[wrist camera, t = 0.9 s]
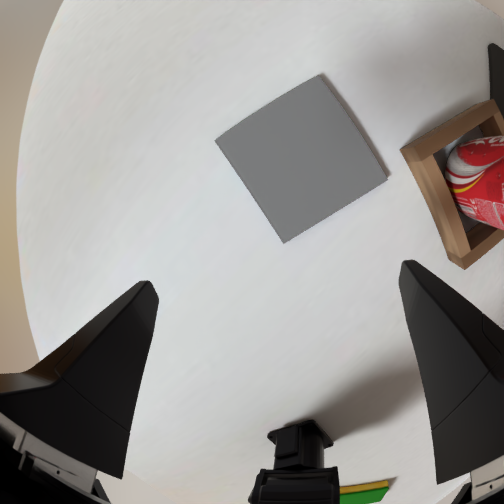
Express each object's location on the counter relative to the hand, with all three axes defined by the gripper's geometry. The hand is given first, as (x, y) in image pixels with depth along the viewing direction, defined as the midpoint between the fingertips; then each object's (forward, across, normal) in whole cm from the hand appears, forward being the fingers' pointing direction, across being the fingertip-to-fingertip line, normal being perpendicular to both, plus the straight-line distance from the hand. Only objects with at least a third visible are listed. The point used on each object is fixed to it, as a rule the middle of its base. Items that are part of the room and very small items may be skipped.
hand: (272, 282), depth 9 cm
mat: (+15, -2, 0) cm, 15 cm away
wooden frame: (+14, -18, +2) cm, 22 cm away
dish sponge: (-4, -8, +51) cm, 52 cm away
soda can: (+14, -18, +2) cm, 23 cm away
